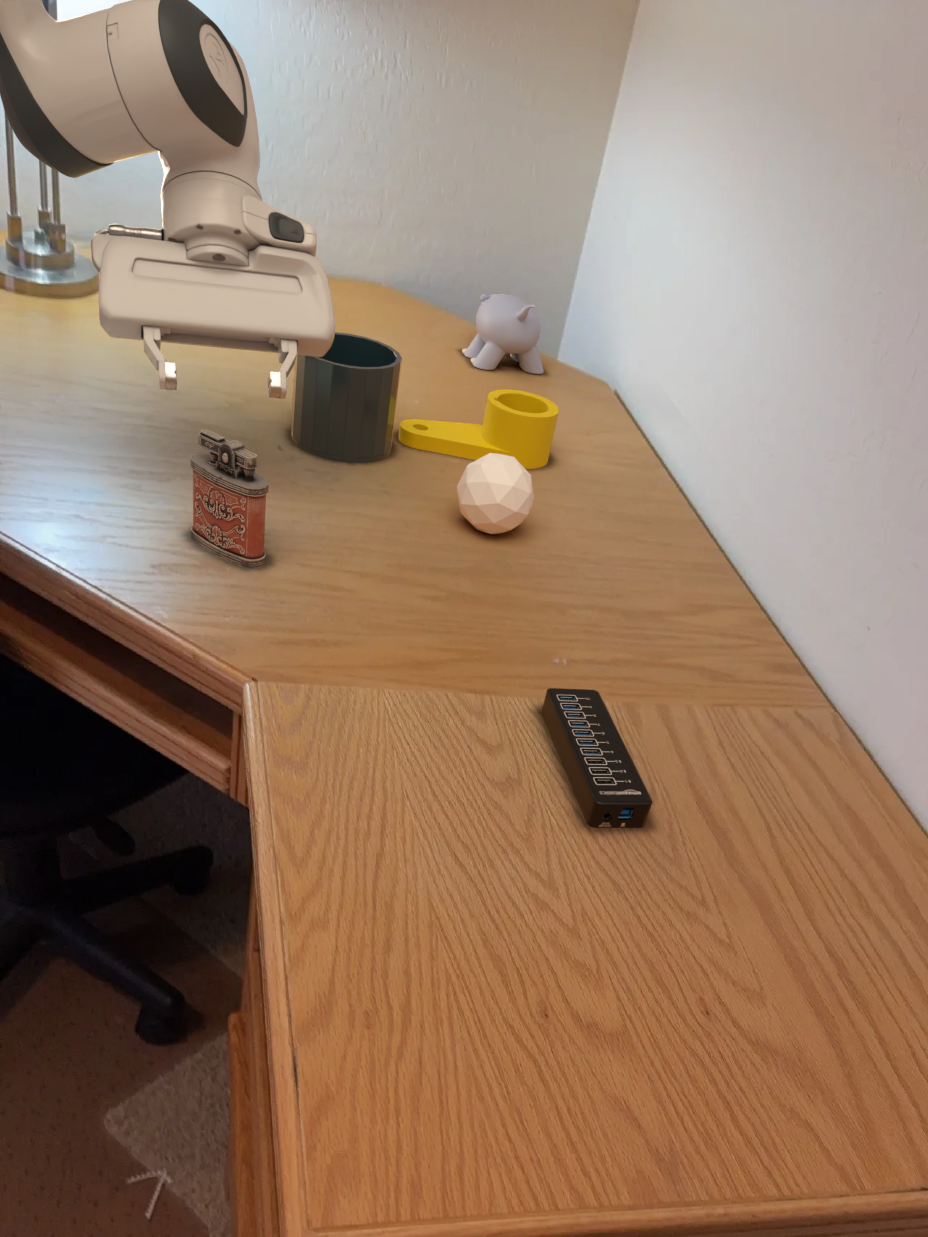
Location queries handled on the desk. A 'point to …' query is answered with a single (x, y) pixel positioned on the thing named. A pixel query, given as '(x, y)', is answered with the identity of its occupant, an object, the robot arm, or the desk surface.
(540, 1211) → the desk surface
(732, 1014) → the desk surface
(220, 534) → the lighter
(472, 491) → the geometric ball
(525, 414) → the crank
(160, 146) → the robot arm
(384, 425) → the pen cup
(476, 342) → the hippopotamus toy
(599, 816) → the multiport hub
